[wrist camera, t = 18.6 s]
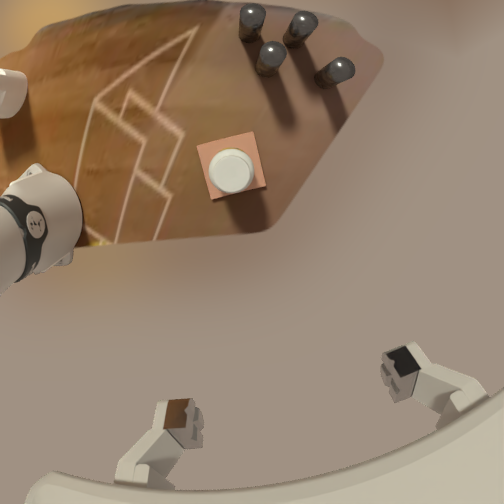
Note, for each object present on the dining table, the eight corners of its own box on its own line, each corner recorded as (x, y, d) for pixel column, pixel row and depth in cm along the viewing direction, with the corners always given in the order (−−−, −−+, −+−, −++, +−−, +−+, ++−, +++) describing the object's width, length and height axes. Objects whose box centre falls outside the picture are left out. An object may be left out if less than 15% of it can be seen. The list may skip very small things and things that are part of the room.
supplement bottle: (204, 165, 38) (195, 173, 29) (232, 139, 37) (232, 138, 28) (231, 192, 40) (230, 208, 31) (258, 166, 39) (266, 175, 30)
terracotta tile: (211, 198, 40) (211, 199, 40) (197, 145, 37) (196, 145, 37) (265, 185, 40) (266, 185, 40) (252, 131, 37) (253, 131, 37)
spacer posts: (256, 99, 35) (261, 90, 28) (236, 28, 31) (237, 5, 23) (335, 87, 35) (357, 78, 28) (315, 19, 30) (332, -2, 23)
